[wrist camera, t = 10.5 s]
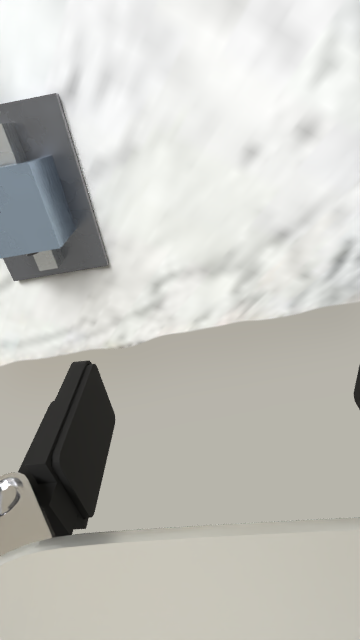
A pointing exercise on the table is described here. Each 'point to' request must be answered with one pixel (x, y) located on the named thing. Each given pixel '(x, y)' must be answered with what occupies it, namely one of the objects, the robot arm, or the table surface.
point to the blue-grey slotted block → (32, 208)
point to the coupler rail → (55, 140)
